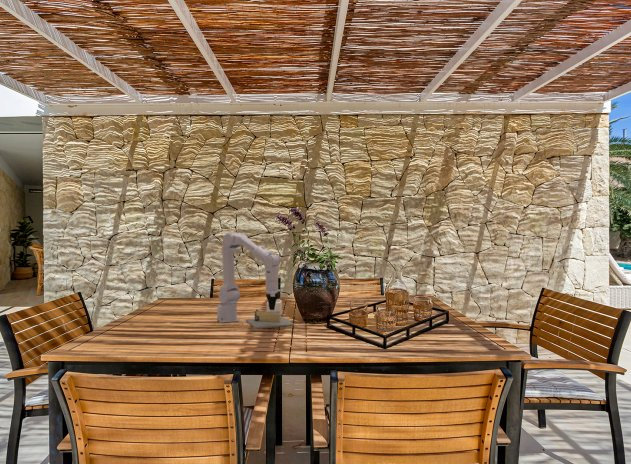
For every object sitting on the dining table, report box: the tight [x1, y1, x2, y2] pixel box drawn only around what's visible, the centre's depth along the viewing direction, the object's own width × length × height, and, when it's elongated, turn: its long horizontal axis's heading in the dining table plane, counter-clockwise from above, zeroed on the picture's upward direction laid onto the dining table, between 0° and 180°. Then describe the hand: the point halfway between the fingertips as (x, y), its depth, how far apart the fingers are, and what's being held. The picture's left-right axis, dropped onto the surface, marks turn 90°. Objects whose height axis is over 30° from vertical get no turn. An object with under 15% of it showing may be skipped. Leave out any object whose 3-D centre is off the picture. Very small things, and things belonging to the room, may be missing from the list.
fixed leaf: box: [254, 309, 280, 321], centre depth 230 cm, size 13×3×5 cm, turn 112°
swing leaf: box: [254, 310, 281, 322], centre depth 227 cm, size 3×13×4 cm, turn 76°
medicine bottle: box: [266, 292, 283, 316], centre depth 246 cm, size 7×7×12 cm
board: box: [245, 315, 295, 330], centre depth 226 cm, size 19×19×1 cm
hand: (271, 309), depth 217 cm, fingers closed
